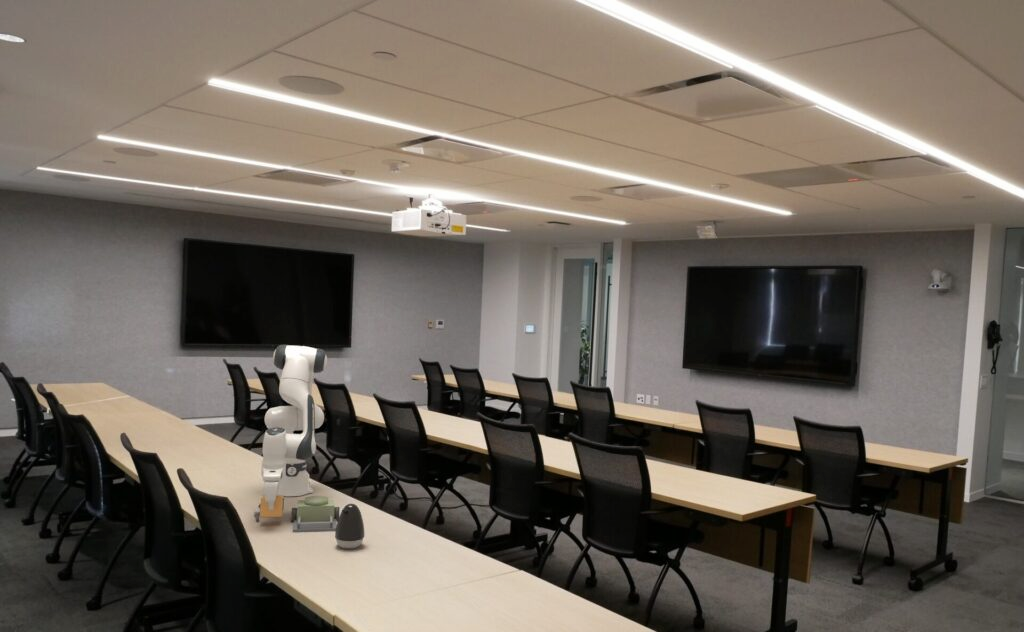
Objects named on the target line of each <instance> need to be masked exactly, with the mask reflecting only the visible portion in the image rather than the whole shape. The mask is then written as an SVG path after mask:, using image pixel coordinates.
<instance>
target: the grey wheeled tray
mask: <svg viewBox="0 0 1024 632" xmlns="http://www.w3.org/2000/svg"><path fill="white" fill-rule="evenodd" d="M339 516H340V506H336V505H335V499H329V498H328V497H327V496H324V495H312V496H307V497H305V498H304V499H302V500H301V499H299V500H297V505H296V507H291V519H290V520H291V522H293V525H292V533H308V532H309V533H316V532H335V531H336V526H337V523H338V519H339Z"/></svg>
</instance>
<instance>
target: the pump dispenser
mask: <svg viewBox="0 0 1024 632" xmlns="http://www.w3.org/2000/svg"><path fill="white" fill-rule="evenodd" d="M363 519H364V518H363V516H362V512H361V510H360V508H359V507H358V505H357V504H355V503H347V504H346V505H344V507H343V508H342V509H341V512H340V513H339V519H338V520H337V526H336V531H334V533H335V534H334V537H335V542H336V543H337V545H338V546H339V547H340V548H342V549H345V550H351V549H352V550H353V549H356V548H358V547H359V546H361V544H362V543H363V541H364V538H365V534H366V532H365V525H364V520H363Z"/></svg>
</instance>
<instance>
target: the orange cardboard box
mask: <svg viewBox="0 0 1024 632" xmlns="http://www.w3.org/2000/svg"><path fill="white" fill-rule="evenodd" d="M284 497H285V496H284V495H277V497H276V500H275V501H274V509H273V510H270V509H269V502H267V501H266V500H265V494H263V495H261V497H260V503H261V506H260V517H259V518H264V517H265V518H266V517H267V518H273V517H274V518H276V517H277V518H278V517H283V514H284V509H285V498H284Z"/></svg>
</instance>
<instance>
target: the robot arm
mask: <svg viewBox="0 0 1024 632" xmlns="http://www.w3.org/2000/svg"><path fill="white" fill-rule="evenodd" d="M272 361H273V365H274V367H275V368H276V369H279V370H281V371H282V372H281V376H280V380H279V385H278V387H279V388H278V392H279V395H280V397H281V399H282V400H283V401H285V402H286V403H287V404H289V405H278V406H275V407H270V408H269V409H268V410H267V411H266V412H265V415H264V424H265V426H266V428H267V429H266V430H265V432H264V436H263V442H262V461H261V474H260V475H261V477H262V481H263V483H264V485H263V487H264V489H263V490H264V495H265V500H266V501H267V502H269V509H270V510H273V509H274V501H275V500H276V497H277V495H284V497H300V496H304V495H307V494H313V493H314V489H313V488H312V487H311V485H310V484H311V483H310V473H309V472H308V471H307V467H308V466H307V461H308V460H310V459H311V458H312V457H313V456H315V454H316V451H317V443H316V429H319V428H320V427H321V426H322V425H323V424H324V421H325V413H324V411H323V409H322V408H321V407H319V406H318V405H317V404H316V403H315V400H314V398H313V396H312V390H313V388H312V387H313V378H314V374H318V373H319V374H320V373H322V372H323V371H324V370H325V369H326V366H327V364H328V356H327V352H326V351H325V350H324V349H321V348H315V347H312V346H311V347H310V346H305V345H302V346H301V345H289V344H280V345H278V346H277V347H276V348H275V350H274V352H273V355H272ZM295 431H302V432H301V433H294V432H295Z"/></svg>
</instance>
